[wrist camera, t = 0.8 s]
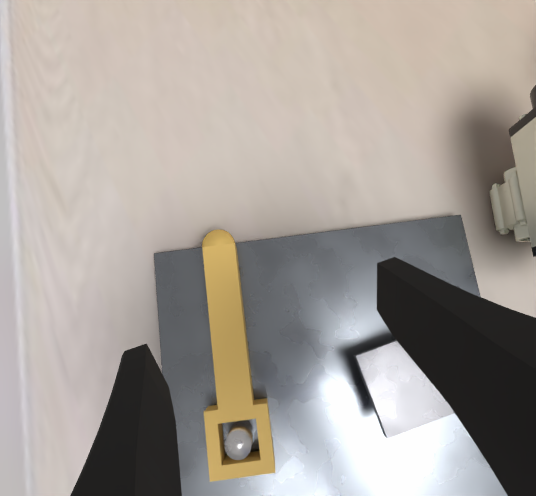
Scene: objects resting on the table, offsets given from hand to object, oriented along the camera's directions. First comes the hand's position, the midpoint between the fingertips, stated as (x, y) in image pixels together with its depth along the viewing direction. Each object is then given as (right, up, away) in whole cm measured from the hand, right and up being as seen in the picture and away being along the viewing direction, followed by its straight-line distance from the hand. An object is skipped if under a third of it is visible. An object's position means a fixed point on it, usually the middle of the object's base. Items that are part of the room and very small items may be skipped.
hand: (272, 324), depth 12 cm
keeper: (+10, -6, +16) cm, 20 cm away
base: (+4, -7, +16) cm, 18 cm away
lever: (-3, -4, +16) cm, 16 cm away
